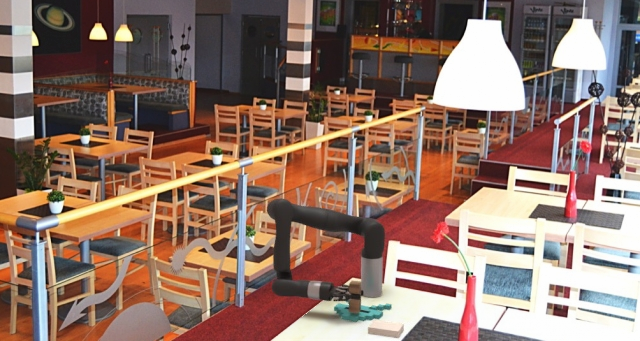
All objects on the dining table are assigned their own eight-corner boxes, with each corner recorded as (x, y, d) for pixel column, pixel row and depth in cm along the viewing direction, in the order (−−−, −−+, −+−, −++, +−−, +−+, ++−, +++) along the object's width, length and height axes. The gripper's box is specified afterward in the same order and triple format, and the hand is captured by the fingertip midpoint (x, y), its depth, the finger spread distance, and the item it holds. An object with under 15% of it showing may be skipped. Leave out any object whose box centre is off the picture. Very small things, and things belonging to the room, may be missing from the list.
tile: (374, 319, 323) (403, 323, 319) (373, 326, 324) (403, 330, 320) (368, 327, 316) (398, 331, 312) (368, 334, 317) (398, 338, 313)
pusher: (351, 308, 332) (351, 280, 330) (360, 309, 331) (361, 281, 329) (348, 312, 329) (349, 283, 326) (358, 313, 328) (358, 284, 325)
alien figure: (348, 301, 351) (326, 317, 333) (348, 296, 350) (326, 312, 333) (391, 309, 342) (371, 326, 324) (391, 304, 341) (371, 321, 324)
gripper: (315, 287, 325) (357, 292, 320) (325, 276, 338) (366, 280, 334) (315, 305, 327) (357, 310, 322) (325, 293, 340) (366, 297, 335)
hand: (361, 295), depth 328 cm, fingers closed on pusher, 4 cm apart
